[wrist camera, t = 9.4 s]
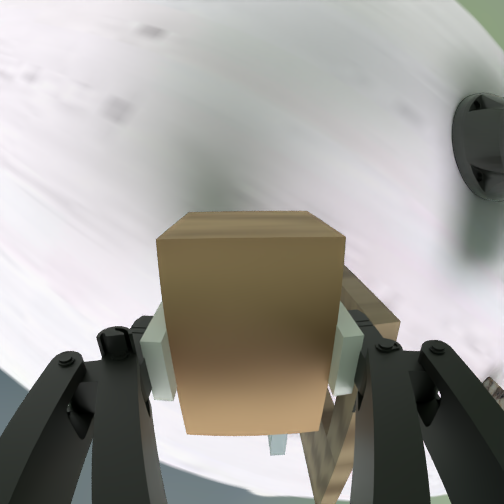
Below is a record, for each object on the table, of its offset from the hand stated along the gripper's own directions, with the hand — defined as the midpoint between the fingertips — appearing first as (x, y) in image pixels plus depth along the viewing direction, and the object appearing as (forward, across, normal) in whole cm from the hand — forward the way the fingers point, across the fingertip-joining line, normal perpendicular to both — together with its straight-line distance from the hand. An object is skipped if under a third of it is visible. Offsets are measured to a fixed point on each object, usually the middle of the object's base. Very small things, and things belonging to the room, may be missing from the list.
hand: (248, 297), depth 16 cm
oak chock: (0, 0, 0) cm, 0 cm away
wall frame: (+17, +9, -18) cm, 26 cm away
